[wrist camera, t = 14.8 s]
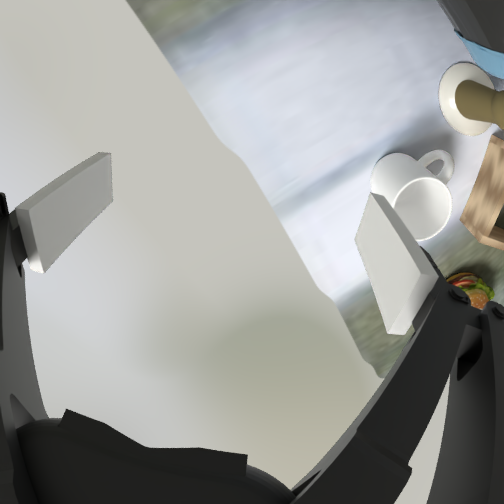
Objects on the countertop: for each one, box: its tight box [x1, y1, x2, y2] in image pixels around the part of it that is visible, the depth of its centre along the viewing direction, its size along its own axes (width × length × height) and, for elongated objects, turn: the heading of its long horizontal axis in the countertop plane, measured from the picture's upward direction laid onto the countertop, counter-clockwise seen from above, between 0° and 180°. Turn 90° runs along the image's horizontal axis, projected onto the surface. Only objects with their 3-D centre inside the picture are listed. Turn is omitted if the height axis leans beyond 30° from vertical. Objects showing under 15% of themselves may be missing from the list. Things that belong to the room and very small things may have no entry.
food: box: [446, 273, 495, 310], centre depth 47 cm, size 14×14×8 cm
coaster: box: [438, 63, 495, 136], centre depth 31 cm, size 11×11×1 cm
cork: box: [455, 80, 504, 130], centre depth 26 cm, size 6×6×11 cm
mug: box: [370, 150, 454, 241], centre depth 34 cm, size 12×8×10 cm
